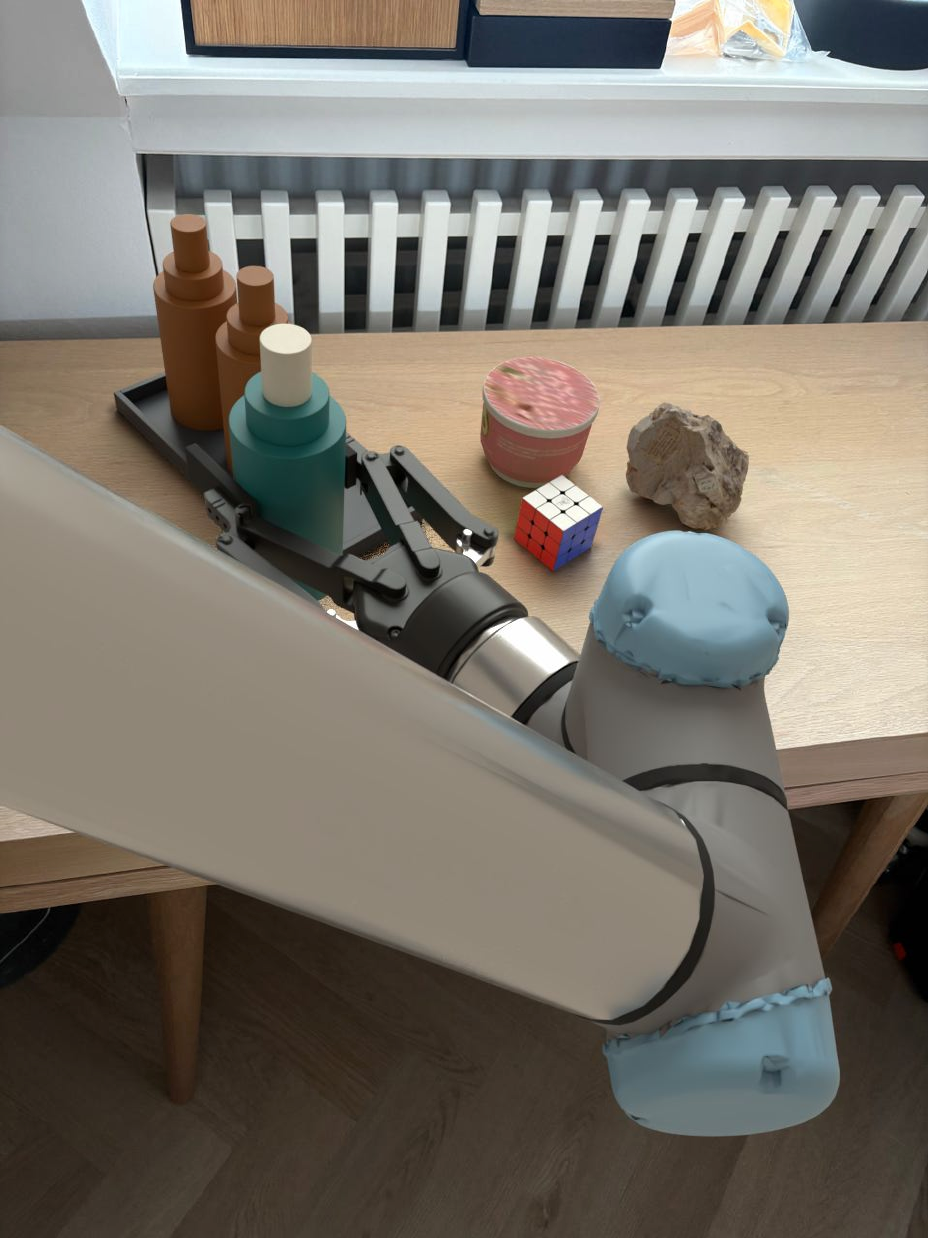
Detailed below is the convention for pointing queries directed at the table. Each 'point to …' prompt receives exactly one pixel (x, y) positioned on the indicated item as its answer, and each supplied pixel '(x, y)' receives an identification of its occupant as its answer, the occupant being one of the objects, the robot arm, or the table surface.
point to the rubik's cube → (557, 522)
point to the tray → (156, 423)
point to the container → (536, 419)
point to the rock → (686, 465)
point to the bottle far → (192, 323)
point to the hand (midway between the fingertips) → (242, 439)
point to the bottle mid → (244, 338)
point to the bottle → (291, 442)
